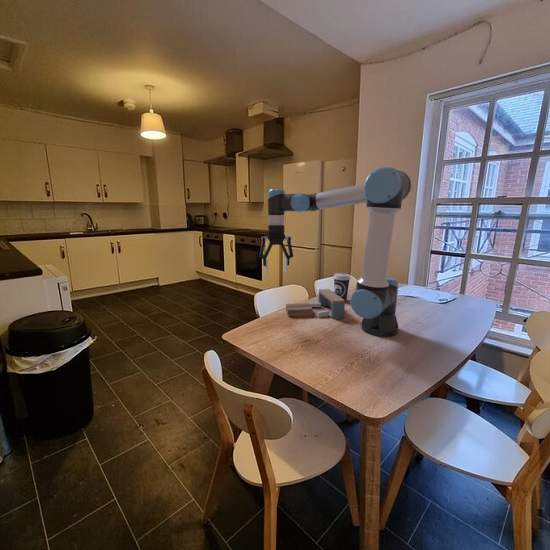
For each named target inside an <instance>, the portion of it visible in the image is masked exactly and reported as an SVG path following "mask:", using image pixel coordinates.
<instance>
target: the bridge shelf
mask: <svg viewBox="0 0 550 550" xmlns="http://www.w3.org/2000/svg"><path fill="white" fill-rule="evenodd" d="M317 299H318V302H309V304H310V305H311V307H321V305H323V306H328V307H329V308H330V309H331V313H330V310H321V311H317V312H316V313H317V318H325V317H329V316H330V318H331V319H344V318H345V306H346V305H345V304H346V301H345V300H344V299H342V298H341V297H339V296H338V295H337V294H335V291H333V290H331V289H330V288H326V289H318V298H317Z"/></svg>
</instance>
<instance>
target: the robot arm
mask: <svg viewBox="0 0 550 550" xmlns="http://www.w3.org/2000/svg"><path fill="white" fill-rule="evenodd" d="M411 189H412V180H411V178H410V176H409V175H408V174H407V173H406V172H404V171H402V170H399V169H397V168H395V167H389V166H386V167H385V166H384V167H378V168H376V169H375V170H374V169H373V171H372V172H371V173H369V174H368V175H367V177H366V179H365V181H364V183H362V184H357V185H352V186H347V187H340V188H337V189H331V190H325V191H321V192H317V193H310V194H307V193H302V192H296V193H286V192H285V191H286V190H284V189H277V188H276V189H269V190H268V192H267V207H268V208H267V212H268V213H267V224H268V225H267V232H268V233H267V236H261V237H260V239H261V244H260V250H259V255H258V257H259V259H262V265H263V267H264V268H265V270H264V271H265V272H264V273H265V274H268V273H269V265H268V263H269V260H268V256H269V253H270V252H271V249H272V247H273V246H275V245H277V246H278V245H279V246H280V247H281V250H282V252H283V253H284V255H285V257H284V273H286V274H287V273H288V266H289V265H290V260H291V258H294V252H293V247H292V242H291V240H292V237H291V236H286V235H285V212H296V213H297V212H298V213H299V212H316V211H320V210H326V209H332V208H334V209H335V208H338V207H339V208H340V207H346V206H353V205H358V204H365V203H366V204H365V205H366V206H365V208H366V210H368V211H369V217H368V225H367V232H366V241H365V247H364V256H363V257H364V258H363V264H362V270H361V276H360V277H359V278H357V280H356V287H355V291H353V293H352V294H351V296H350V300H349V303H350V307H351V309H352V310H353V311H354V313H355V314H356V315H357V316H358V317H359V318H362V321H361V323H360V324H361V325H360V328H361V330H362V331H363V332H365V333H367V334H369V335H372V336H378V337H394V336H396V335H398V334H399V324H398V320H397V316H396V311H397V302H398V301H397V300H398V291H399V282H398V280H397V279H396V278H392V277H387V272H388V265H389V258H390V252H391V245H392V244H391V243H392V239H393V238H392V237H393V234H394V233H393V232H394V225H395V218H396V214H398V212H400V210H402V203H403V201H404V200H405V199H406V198H407V197H408V196H409V194H410V193H411ZM267 240H268V242H269V243H268V246H267V247H266V250H265V245H266V242H267ZM284 241H286V242H287V243H286V244H287V248H288V251H287V249H286V247H285V244H284ZM264 250H265V251H264Z"/></svg>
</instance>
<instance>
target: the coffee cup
mask: <svg viewBox="0 0 550 550" xmlns="http://www.w3.org/2000/svg"><path fill="white" fill-rule="evenodd" d="M351 278H352V277H351V276H350V274H349V273H344V272H336V273H334V274H333V284H334V286H333V288H334V293H335V294H337V295H338V296H339V297H341V298H342V299H344V300H345V302H347V299H348V293H349V285H350V280H351Z"/></svg>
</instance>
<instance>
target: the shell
mask: <svg viewBox="0 0 550 550" xmlns="http://www.w3.org/2000/svg"><path fill="white" fill-rule="evenodd" d="M309 303H310V302H309ZM309 303H307V302H305V303H304V302H303V303H301V302H300V303H286V304H285V312H286V311H287V312H286V315H287V317H288V316H300V317H313V312H314V308H312V307H311V305H310V304H309Z"/></svg>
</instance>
